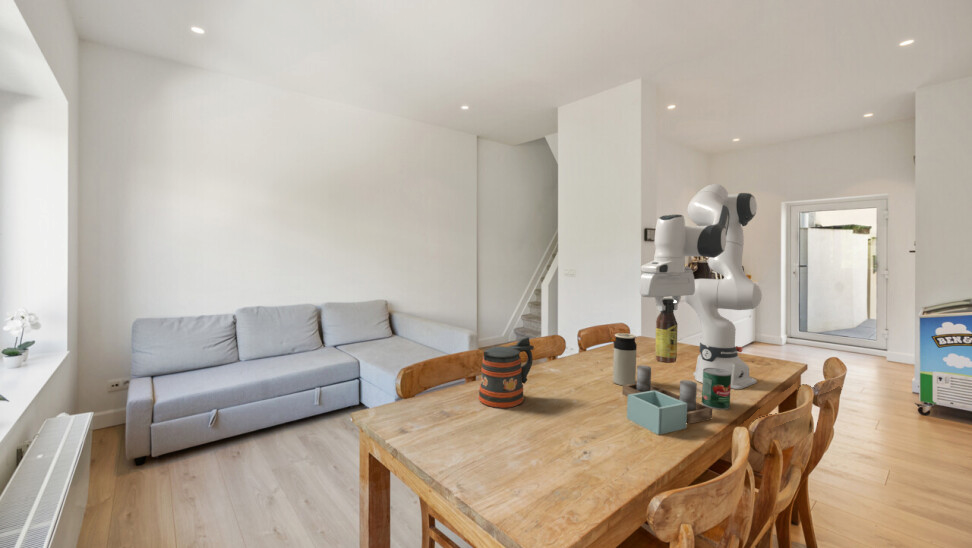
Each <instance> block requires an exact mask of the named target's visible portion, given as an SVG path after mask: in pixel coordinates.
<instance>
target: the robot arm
mask: <svg viewBox="0 0 972 548" xmlns="http://www.w3.org/2000/svg"><path fill="white" fill-rule="evenodd" d="M728 193H729V192H728V190H727V189H726V188H725V187H724V186H722V185H721V184H718V183H712V184H708V185H706V186H704V187H703V188H702V189H700V190H699V191H698V192H697V193H696V194H695V195H694V196H693V197H692V198H691V200H690V201H689V203H688V205H687V216H688V218H689V219H690V221H691V222H692V223H694V224H695V225H694V226H693V225H692V226H691V225H690V226H687V225H686V220H685V216H684V215H682V214H669V215H667V214H666V215H665V214H664V215H661V216H660V217H658V218H657V221H656V225H655V232H654V247H655V252H654V255H653V260H651V261H649V262H647V263H645V264H641V267H640V271H641V273H642V274H641V275H640V279H639V294H640V296H642V297H643V298H654V301H655V303H656V305H657V310H656V311H659V312H660V311H665V305H663V302H662V300H663V298H667V297H668V298H669V297H671V299H674V304H673V311H677V310H678V306H679V303H680V302H681V300H682V298H683V300H684V301H685V303H686V304H687V305H689V306H690V307H691V308H692V309H693V310H694V312H695V313H696V315H697V317H698V319H699V321H700V330H701V331H700V332H701V335H700V336H701V337H700V338H701V340H700V343H699V347H698V348H699V353H700V354H698V356H697V361H696V366H695V371H693V374H692V375H693V376H694V379H695V380H696V381H697V382H700V383H702V384H703V369H704V368H718V369H723V370H727V371H729V372H731V388H730V389H734V390H742V389H745V388H748V387H749V386H752V385H754V384H757V383H758V381H757V379H756V378H753V377H752V376H750V367H749V365H748V364H747V363H746V362H744V360H742V359H741V358H740V357H739V354H738V353H742V352H743V350H744V349H743V347H742V346H737V345H736V329H737V328H736V326H735V324H734V323H733V322H732V321H731V320H729V319H727V318H725V317H724V316H723V315H721V314H720V313H719V309H721V310H722V309H723V310H733V311H734V310H735V311H748V310H754V309H756V308H758V306H759V305H760V303H761V300H762V298H763V297H762V290H761V289H760V288H761V287H759V285H758V284H757V283H756V282H754V281H752V280H751V279H750V278H749V277H748V276H747V275H746V273H745V271H744V268H743V253H744V245H745V244H744V243H745V241H744V239H745V236H744V229H743V227H745V226H747V225H748V224H749V223H750V221H751V220H753V218H754V217H755V216H756V214H757V210H758V205H757V200H756V198H755V196H754V195H753V194H752V193H749V192H739V193H732V194H731V193H730V194H728ZM686 257H703V258H708V259H707V264H708V267H709V268H710V269H711V270H712V271H713V272H715V273H716V274H719V275H721V276H722V277H723V278H720V279H719V278H695V275H694V271H693V270H692V268H691V267H690V266H689V265H688V266H687V265H686ZM735 345H736V346H735Z"/></svg>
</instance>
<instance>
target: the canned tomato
mask: <svg viewBox="0 0 972 548" xmlns="http://www.w3.org/2000/svg"><path fill="white" fill-rule="evenodd" d="M731 389H732V388H731V372H729V371H727V370H723V369H718V368H704V369H703V383H702V387H701V404H702V405H704V406H707V407H709V408H712V410H713V409H714V410H719V411H721V410H723V411H726V410H729V409H730V408H731V407H730V405H731V391H732V390H731Z"/></svg>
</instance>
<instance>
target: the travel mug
mask: <svg viewBox="0 0 972 548" xmlns="http://www.w3.org/2000/svg"><path fill="white" fill-rule="evenodd" d="M614 337H615V340H614V342H613V363H612V364H613V365H612V382H613V383H615V385H618V386H622V387H623V385H628V384H635V383H636V379H637V346H638V344H637V343H636V338H637V335H635V334H633V333H622V332H620V333H619V332H617V333H615V334H614Z"/></svg>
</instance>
